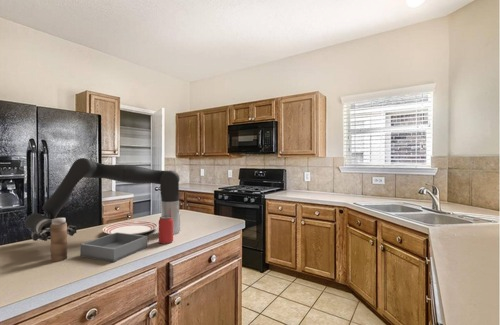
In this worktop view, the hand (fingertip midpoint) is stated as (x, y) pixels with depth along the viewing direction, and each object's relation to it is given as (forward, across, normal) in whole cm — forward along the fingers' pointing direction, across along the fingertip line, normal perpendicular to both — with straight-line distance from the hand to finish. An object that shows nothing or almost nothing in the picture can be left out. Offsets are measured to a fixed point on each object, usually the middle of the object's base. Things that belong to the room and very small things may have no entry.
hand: (59, 235), depth 102 cm
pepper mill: (-1, 0, +10) cm, 10 cm away
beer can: (+12, +39, +10) cm, 42 cm away
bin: (+7, +18, +10) cm, 22 cm away
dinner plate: (-18, +36, +10) cm, 42 cm away
